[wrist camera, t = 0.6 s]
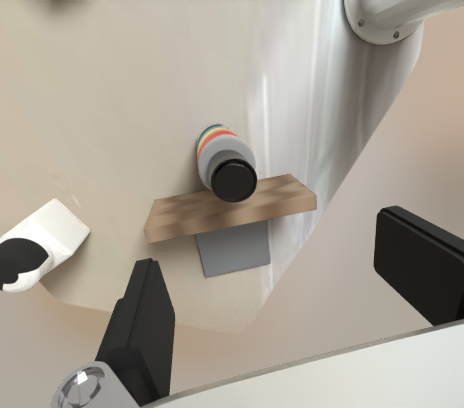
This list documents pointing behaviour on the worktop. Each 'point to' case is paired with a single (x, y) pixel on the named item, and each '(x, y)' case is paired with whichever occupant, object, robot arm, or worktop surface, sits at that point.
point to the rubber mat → (234, 248)
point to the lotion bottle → (225, 164)
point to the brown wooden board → (226, 209)
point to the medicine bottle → (38, 246)
